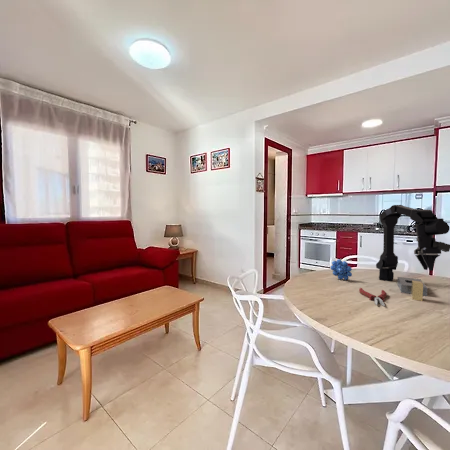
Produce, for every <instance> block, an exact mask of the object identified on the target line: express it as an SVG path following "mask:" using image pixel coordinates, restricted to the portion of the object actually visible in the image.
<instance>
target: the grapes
mask: <svg viewBox="0 0 450 450" xmlns="http://www.w3.org/2000/svg"><path fill="white" fill-rule="evenodd" d="M331 264H332V265H331V266H330V269H331V271H332V274H333V276H335V277H337V279H339V280H343V279H344V280H345V281H347V280H349V278H350V277H352V276H353V272H351V271H352V270H353V269H352V266H350V265H348V262H347V261H345V260H343V261H342V260H341V259H339V258H338V259H336V260H332V262H331Z"/></svg>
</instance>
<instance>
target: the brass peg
mask: <svg viewBox="0 0 450 450" xmlns="http://www.w3.org/2000/svg"><path fill="white" fill-rule="evenodd" d="M421 281H422V280H421ZM421 281H412V287H411V294H410V298H411V300H414V301H421V302H423V298H424V297H423V283H424V282H423V281H422V282H423V283H422V282H421Z"/></svg>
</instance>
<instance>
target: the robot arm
mask: <svg viewBox="0 0 450 450" xmlns="http://www.w3.org/2000/svg"><path fill="white" fill-rule="evenodd" d="M402 215H403V216H406V217H409V219H410V220H411V221H414V222H415V223H414V224H413V226H412V228H415V229H416V230H415V231H416V240H415V241H416V242H417V248H416V249H414V250H413V252H414V253H413V254H414V255H415V257H416V258H417V260H418V262H419V264H420V265H421V266H422V268H423V270H426V271H427V270H429V271H432V272H433V271H434V268H435V262H436V259H438V258H439V257H440V256H441V254H442V252H444V253H448V252H450V243H445V242H442V241H436V240H437V239H436V238H435V237H434V236H438V235H445V234H448V233H449V231H450V226H449V223H447V222H446V221H444V220H445V219H444V218H438V217H437V216H436V214H435V213H434V212H433V210H432V209H417V208H413V207H409V206H405V205H402V204H393V205H391V206H390V207H389V208H387V209H384V210H383V212H381V214H379V220H380V224H381V225H382V228H383V251H382V253H381V254H380V256H379V260H378V262H376V264H375V267H376V269H378V270H379V271H378V280H379V281H386V282H393V280H394V274H395V273H394V271H396V270H397V267H398V264H399V256H398V255H396V253H395V228H396V225H397V224H398V223H399V219H400V218H401V217H402Z"/></svg>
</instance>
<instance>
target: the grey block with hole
mask: <svg viewBox="0 0 450 450" xmlns="http://www.w3.org/2000/svg"><path fill="white" fill-rule="evenodd" d="M412 281H421V282H422V283H423V296H424V297H427V296H428V287H427V285H426V284H425V283H424V282H423V281H422V280H421V279H419V278H413V277H412V278H411V277H403V276H397V283H396V284H397V286H398V288H399V291H400V293H402V294H410V295H411V287H412Z"/></svg>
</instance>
